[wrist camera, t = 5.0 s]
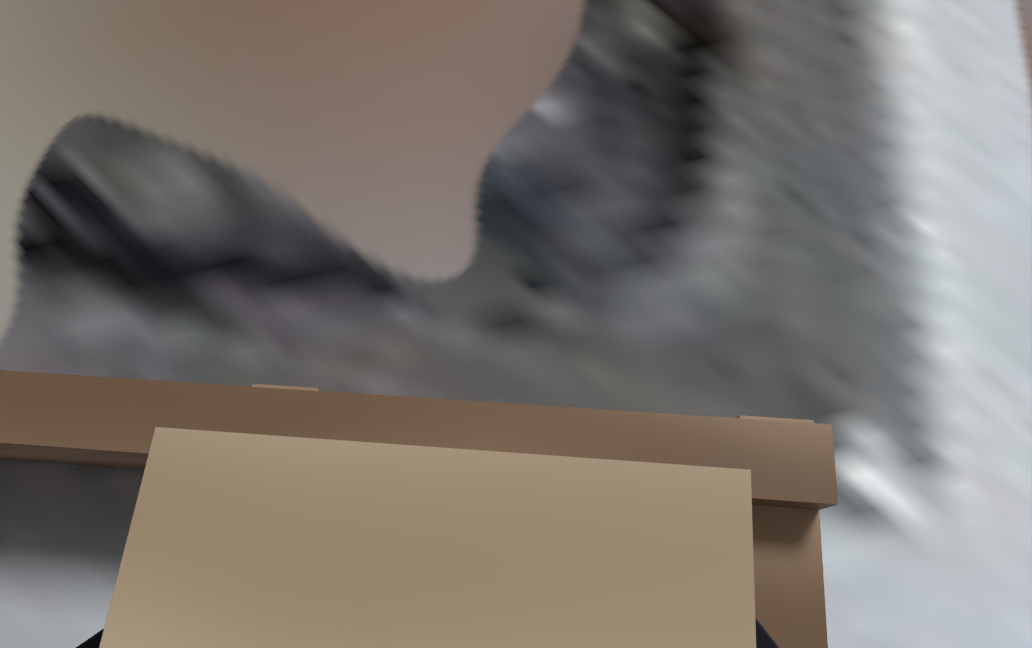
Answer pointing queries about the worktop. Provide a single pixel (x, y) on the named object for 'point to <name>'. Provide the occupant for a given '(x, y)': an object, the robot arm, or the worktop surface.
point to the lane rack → (463, 425)
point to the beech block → (428, 549)
